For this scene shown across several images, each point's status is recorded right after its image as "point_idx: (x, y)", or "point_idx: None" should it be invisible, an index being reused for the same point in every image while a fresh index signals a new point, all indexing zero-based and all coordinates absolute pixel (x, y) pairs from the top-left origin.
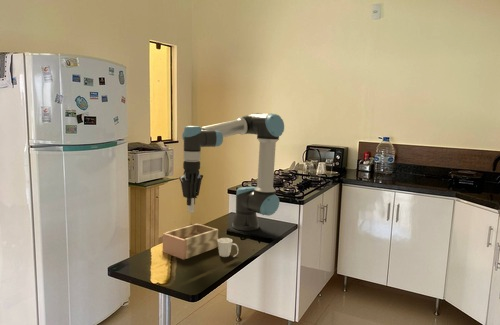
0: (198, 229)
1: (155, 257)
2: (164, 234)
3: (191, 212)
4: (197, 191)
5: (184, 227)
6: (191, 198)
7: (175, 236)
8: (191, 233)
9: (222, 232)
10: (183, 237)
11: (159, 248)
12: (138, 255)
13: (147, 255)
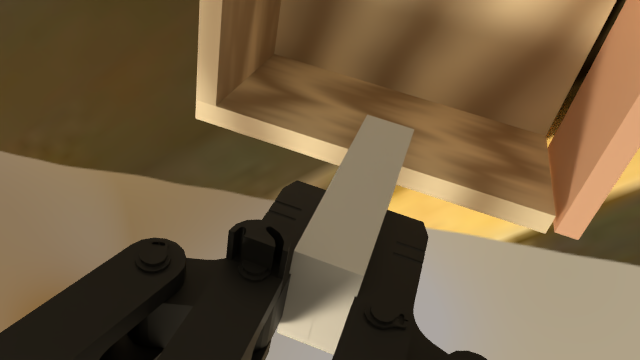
0: (235, 73)
1: (635, 162)
2: (588, 220)
3: (412, 133)
4: (116, 323)
5: (343, 157)
6: (346, 289)
7: (629, 112)
8: (298, 98)
9: (16, 6)
10: (382, 118)
11: (466, 208)
12: (631, 259)
13: (613, 217)
